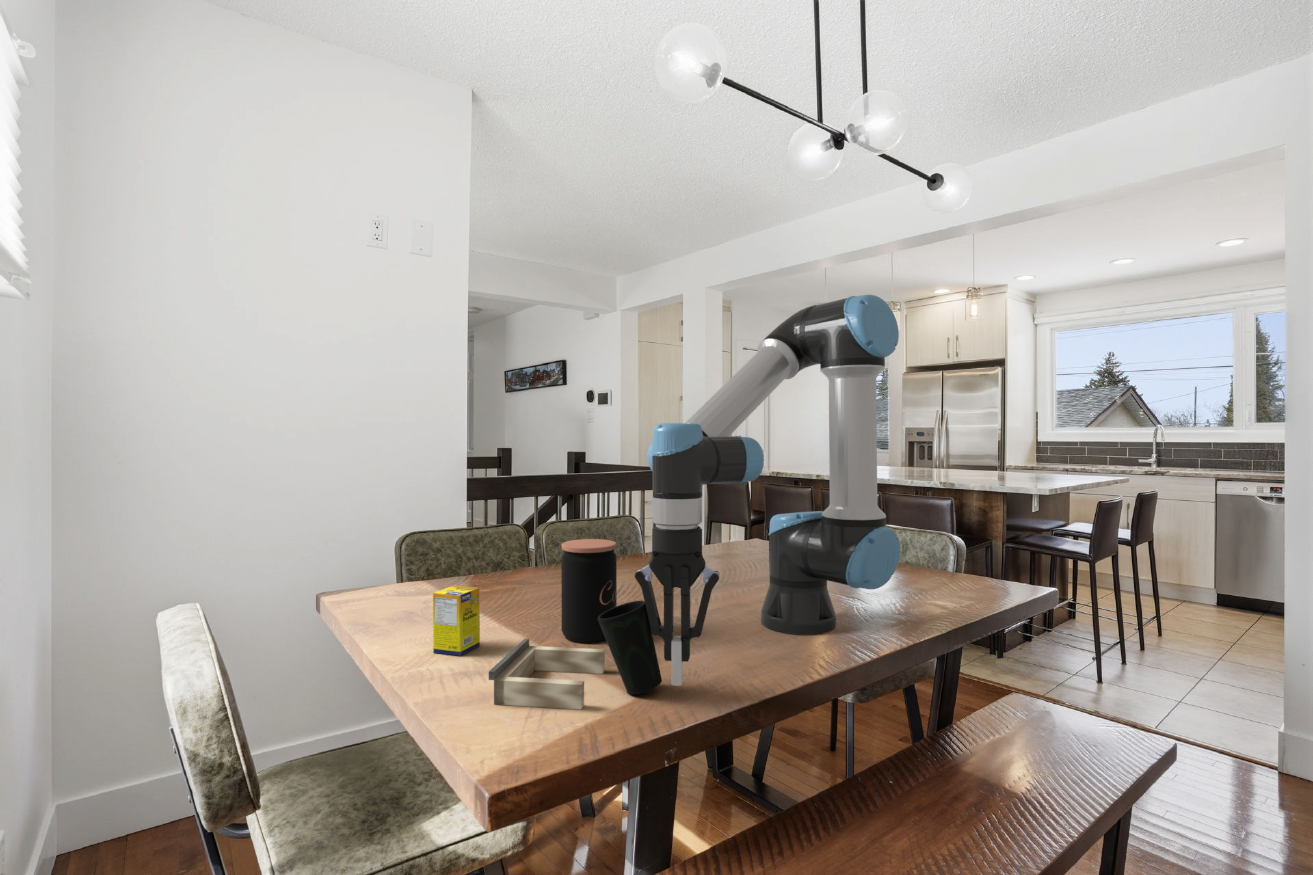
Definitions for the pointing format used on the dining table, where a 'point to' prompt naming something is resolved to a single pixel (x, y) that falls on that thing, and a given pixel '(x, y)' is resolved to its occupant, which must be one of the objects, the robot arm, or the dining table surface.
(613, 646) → the cup
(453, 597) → the supplement box
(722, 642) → the dining table surface
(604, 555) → the coffee jar
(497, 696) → the bay
